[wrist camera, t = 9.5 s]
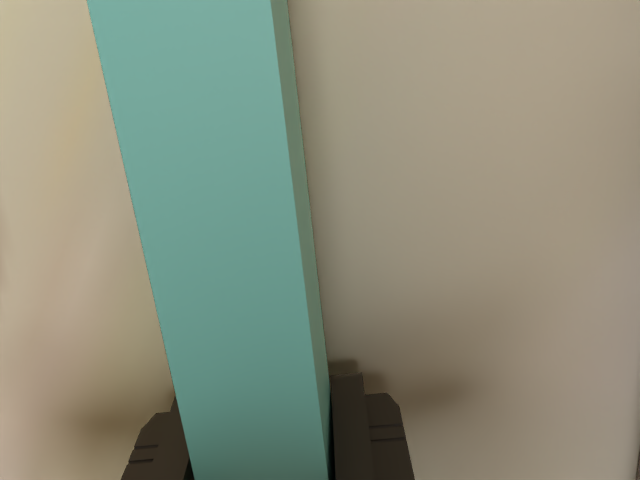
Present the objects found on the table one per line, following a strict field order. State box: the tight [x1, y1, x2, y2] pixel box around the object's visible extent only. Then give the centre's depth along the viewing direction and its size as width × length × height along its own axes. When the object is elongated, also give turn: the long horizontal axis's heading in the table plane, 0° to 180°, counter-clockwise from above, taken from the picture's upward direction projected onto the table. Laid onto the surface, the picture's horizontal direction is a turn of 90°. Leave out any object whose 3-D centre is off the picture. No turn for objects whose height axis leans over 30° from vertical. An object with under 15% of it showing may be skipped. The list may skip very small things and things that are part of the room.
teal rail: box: [87, 0, 336, 480], centre depth 12 cm, size 2×22×2 cm, turn 6°
